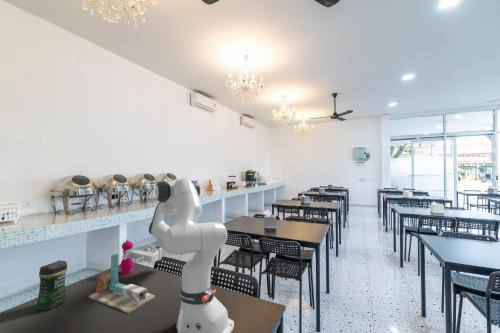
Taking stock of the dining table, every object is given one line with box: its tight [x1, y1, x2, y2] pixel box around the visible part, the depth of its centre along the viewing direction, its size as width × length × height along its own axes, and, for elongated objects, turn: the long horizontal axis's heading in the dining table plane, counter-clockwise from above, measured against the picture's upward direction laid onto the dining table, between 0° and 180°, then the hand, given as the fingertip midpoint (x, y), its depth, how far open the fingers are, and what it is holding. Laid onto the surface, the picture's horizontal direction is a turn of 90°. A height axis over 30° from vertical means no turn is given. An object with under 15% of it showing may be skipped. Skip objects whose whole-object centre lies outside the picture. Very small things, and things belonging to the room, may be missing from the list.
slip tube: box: [107, 253, 128, 294], centre depth 111 cm, size 17×3×16 cm, turn 64°
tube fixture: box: [88, 271, 156, 314], centre depth 110 cm, size 28×14×8 cm, turn 64°
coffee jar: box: [36, 260, 68, 311], centre depth 104 cm, size 10×8×19 cm
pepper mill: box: [119, 238, 135, 276], centre depth 139 cm, size 7×7×20 cm
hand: (129, 259), depth 121 cm, fingers open, 8 cm apart
